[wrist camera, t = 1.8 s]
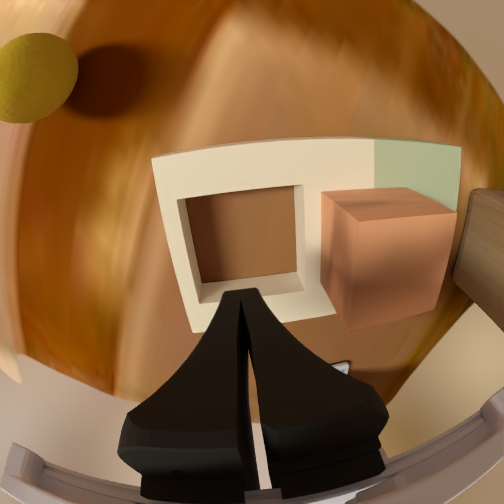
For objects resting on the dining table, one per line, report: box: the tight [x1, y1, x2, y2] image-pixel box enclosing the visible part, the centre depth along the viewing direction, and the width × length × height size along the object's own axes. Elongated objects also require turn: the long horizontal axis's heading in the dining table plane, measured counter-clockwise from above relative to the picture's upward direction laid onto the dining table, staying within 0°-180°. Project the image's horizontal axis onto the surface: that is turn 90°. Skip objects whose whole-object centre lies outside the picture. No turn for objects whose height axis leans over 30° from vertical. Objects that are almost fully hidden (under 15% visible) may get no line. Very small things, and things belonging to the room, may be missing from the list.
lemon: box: [0, 33, 78, 123], centre depth 9 cm, size 6×6×8 cm
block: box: [320, 187, 457, 333], centre depth 14 cm, size 6×6×5 cm
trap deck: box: [151, 136, 461, 333], centre depth 17 cm, size 12×20×2 cm, turn 96°
